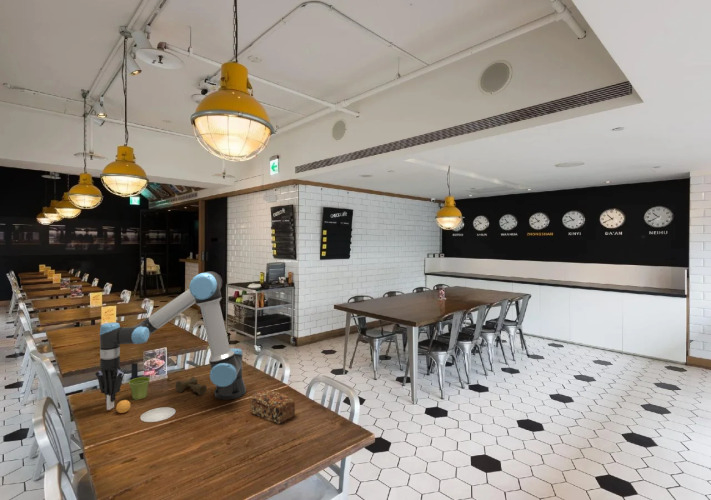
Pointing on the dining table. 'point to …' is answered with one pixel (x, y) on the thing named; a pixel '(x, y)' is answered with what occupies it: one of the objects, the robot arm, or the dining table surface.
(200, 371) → the dining table surface
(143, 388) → the plant pot
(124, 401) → the ball
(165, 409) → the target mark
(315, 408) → the dining table surface
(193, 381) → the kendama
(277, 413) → the bread
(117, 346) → the robot arm
